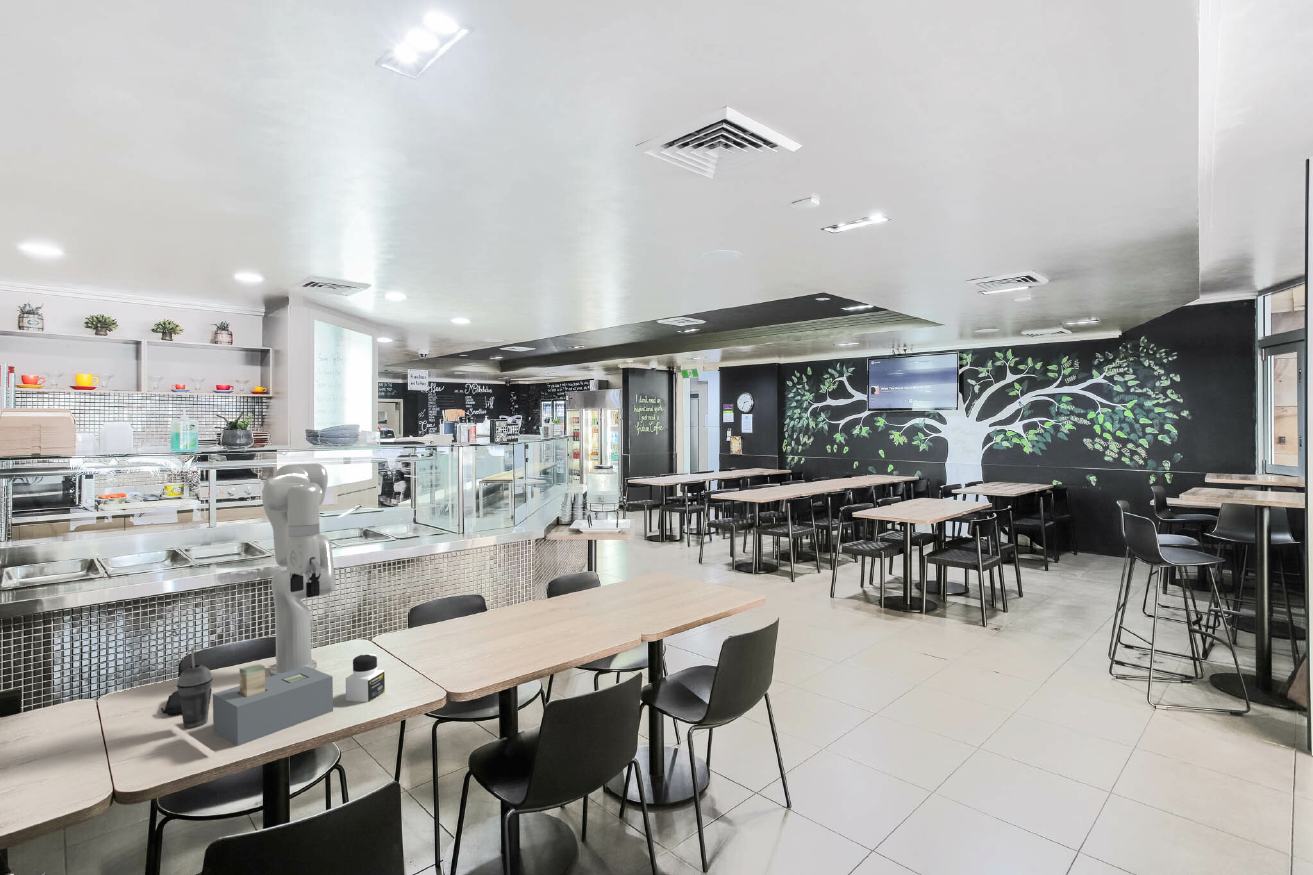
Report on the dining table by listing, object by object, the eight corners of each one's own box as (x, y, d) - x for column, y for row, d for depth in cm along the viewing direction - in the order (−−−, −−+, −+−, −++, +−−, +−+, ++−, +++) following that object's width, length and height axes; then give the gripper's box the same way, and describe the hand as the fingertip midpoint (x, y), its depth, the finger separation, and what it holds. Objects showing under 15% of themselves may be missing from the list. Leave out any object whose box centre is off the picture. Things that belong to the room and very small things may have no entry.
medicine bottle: (368, 705, 167) (367, 661, 167) (345, 704, 169) (344, 659, 169) (385, 695, 174) (384, 652, 174) (362, 693, 176) (362, 650, 176)
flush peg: (284, 714, 161) (283, 679, 161) (300, 708, 164) (299, 674, 164) (291, 717, 158) (290, 682, 158) (307, 712, 162) (307, 677, 162)
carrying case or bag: (164, 701, 173) (158, 721, 161) (164, 690, 173) (158, 709, 161) (211, 692, 179) (209, 710, 167) (211, 682, 179) (209, 699, 167)
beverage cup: (185, 737, 151) (183, 655, 151) (172, 730, 155) (170, 650, 155) (219, 725, 157) (217, 646, 157) (205, 719, 161) (204, 641, 161)
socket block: (213, 734, 152) (212, 693, 152) (306, 702, 170) (306, 665, 170) (238, 750, 144) (237, 706, 144) (333, 714, 162) (332, 676, 162)
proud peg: (240, 704, 153) (239, 668, 153) (258, 699, 156) (257, 663, 156) (247, 708, 150) (246, 671, 150) (265, 702, 153) (264, 666, 154)
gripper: (275, 529, 171) (276, 591, 172) (303, 535, 161) (304, 601, 161) (304, 526, 177) (305, 586, 178) (332, 532, 167) (333, 595, 167)
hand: (304, 593), depth 169 cm, fingers open, 9 cm apart
